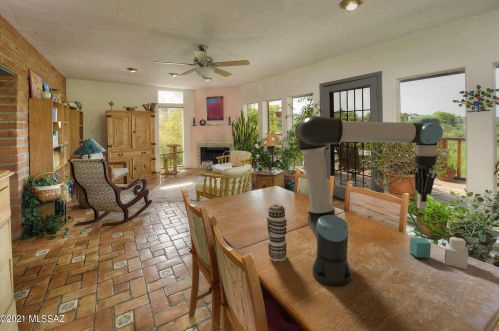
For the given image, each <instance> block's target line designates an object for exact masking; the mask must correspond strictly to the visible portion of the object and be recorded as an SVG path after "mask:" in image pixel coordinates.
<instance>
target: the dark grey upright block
mask: <svg viewBox="0 0 499 331" xmlns="http://www.w3.org/2000/svg"><path fill="white" fill-rule="evenodd" d="M409 254H410V256H412V257H413V258H414V260H426V261H427V260H429V257H416V256H414V255H413V254H412V253H411V252H409Z"/></svg>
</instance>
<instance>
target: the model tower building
mask: <svg viewBox="0 0 499 331" xmlns="http://www.w3.org/2000/svg"><path fill="white" fill-rule="evenodd" d="M267 210H268V216H267V217H266V222H267V225H266V227H267V234H268V243H267V244H268V250H267V252H268V259H269V258H270V259H271V261H272V260H273V261H272V262H276V261H280V262H283V261H286V259H287V253H288V252H287V251H288V250H287V245H288V244H287V242H286V241H287V240H286V235H287V226H288V225H287V224H288V223H287V222H288V221H287V219H286V208H285V207H284V206H283V205H282V204H271V205H270V206H269V207H268V208H267ZM270 259H269V260H270Z"/></svg>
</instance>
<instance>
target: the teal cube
mask: <svg viewBox="0 0 499 331" xmlns="http://www.w3.org/2000/svg"><path fill="white" fill-rule="evenodd" d="M431 247H432V244H431V242H430V241H428V240H427V239H426V238H424V237H410V240H409V253H412V254H413V255H414V256H416V257H427V258H428V259H429V258H430V257H431Z"/></svg>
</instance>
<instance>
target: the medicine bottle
mask: <svg viewBox="0 0 499 331" xmlns="http://www.w3.org/2000/svg"><path fill="white" fill-rule="evenodd" d="M447 239H448V240H447V242H446V244H445V252H444V265H447V266H451V267H455V268H459V269H461V270H468V261H469V249H468V246H467V245H468V239H466V238H465V237H463V236H461V235H455V234H451V235H449V236H448V238H447Z"/></svg>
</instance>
